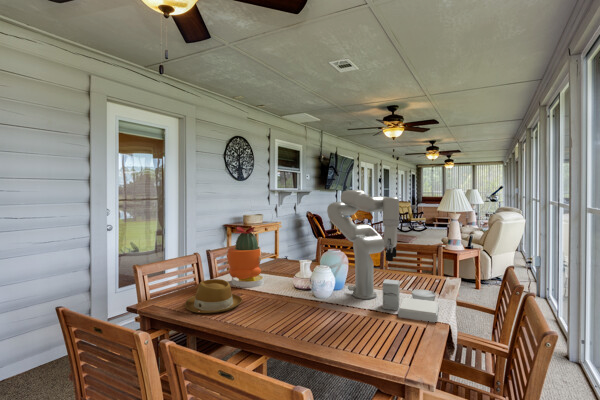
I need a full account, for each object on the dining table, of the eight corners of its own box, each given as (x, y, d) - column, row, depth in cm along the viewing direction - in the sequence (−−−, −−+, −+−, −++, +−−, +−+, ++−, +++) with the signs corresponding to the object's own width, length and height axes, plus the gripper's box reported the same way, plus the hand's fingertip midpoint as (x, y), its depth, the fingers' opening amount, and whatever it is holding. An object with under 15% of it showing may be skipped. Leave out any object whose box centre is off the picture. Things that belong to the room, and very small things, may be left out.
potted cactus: (244, 277, 218) (243, 223, 217) (270, 282, 205) (269, 225, 204) (219, 285, 201) (217, 227, 199) (245, 291, 188) (244, 229, 186)
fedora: (215, 293, 187) (215, 272, 186) (253, 302, 170) (252, 280, 170) (173, 307, 165) (172, 284, 165) (211, 320, 148) (211, 294, 148)
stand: (398, 317, 148) (398, 308, 148) (403, 305, 163) (403, 297, 163) (437, 322, 142) (437, 313, 141) (438, 309, 156) (438, 301, 156)
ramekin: (437, 308, 159) (437, 297, 159) (413, 306, 161) (413, 295, 161) (433, 300, 170) (433, 289, 170) (410, 298, 172) (410, 288, 172)
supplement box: (382, 309, 158) (382, 282, 158) (384, 303, 165) (384, 278, 165) (398, 311, 156) (398, 284, 155) (399, 305, 162) (399, 280, 162)
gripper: (386, 221, 168) (386, 254, 169) (379, 224, 152) (379, 261, 153) (401, 221, 165) (401, 255, 166) (396, 225, 149) (396, 263, 150)
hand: (391, 258), depth 159 cm, fingers open, 9 cm apart
